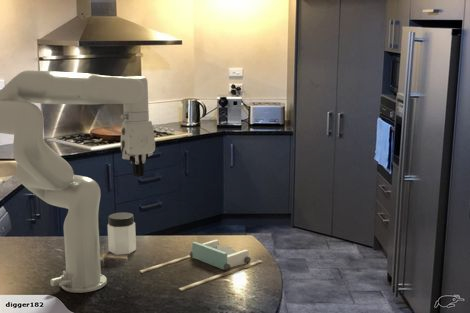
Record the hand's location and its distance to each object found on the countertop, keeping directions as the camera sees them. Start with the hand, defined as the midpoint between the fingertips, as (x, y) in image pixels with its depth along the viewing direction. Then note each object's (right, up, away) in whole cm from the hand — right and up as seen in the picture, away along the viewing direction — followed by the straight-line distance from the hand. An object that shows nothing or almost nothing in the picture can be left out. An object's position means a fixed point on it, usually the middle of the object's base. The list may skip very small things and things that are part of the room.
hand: (138, 175), depth 194 cm
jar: (-7, -25, +13) cm, 29 cm away
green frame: (+25, -27, +2) cm, 37 cm away
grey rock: (+27, -27, +3) cm, 39 cm away
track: (+20, -28, -2) cm, 34 cm away
